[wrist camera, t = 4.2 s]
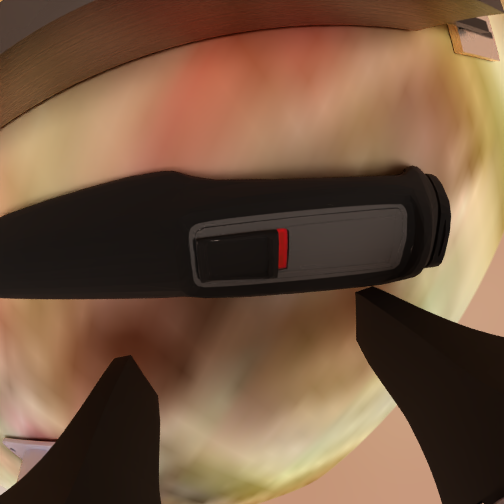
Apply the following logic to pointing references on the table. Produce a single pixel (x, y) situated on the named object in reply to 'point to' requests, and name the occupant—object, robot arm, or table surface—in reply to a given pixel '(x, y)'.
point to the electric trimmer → (224, 237)
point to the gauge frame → (474, 42)
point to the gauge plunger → (173, 32)
